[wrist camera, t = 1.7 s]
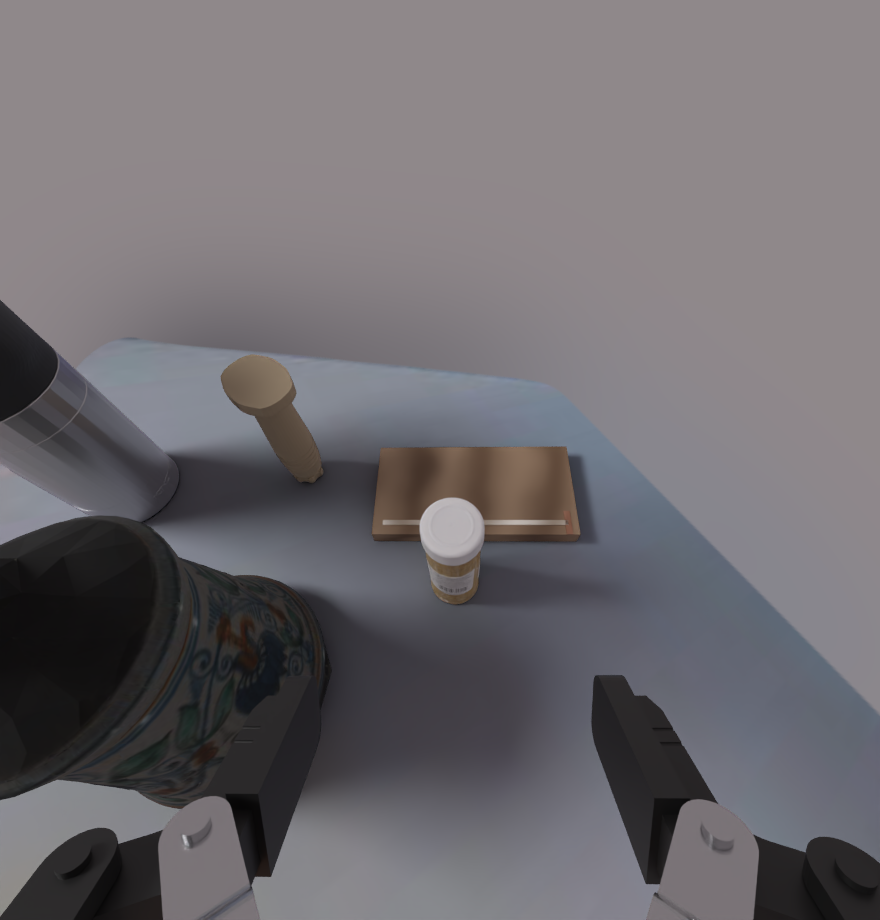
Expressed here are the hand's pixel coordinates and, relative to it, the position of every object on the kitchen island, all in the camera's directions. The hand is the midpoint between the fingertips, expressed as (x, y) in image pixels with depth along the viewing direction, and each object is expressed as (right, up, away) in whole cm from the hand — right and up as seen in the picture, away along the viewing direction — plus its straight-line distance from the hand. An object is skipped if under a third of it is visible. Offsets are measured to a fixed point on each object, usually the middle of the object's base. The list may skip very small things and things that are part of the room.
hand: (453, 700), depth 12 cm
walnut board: (+3, +3, +33) cm, 34 cm away
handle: (-15, +5, +36) cm, 39 cm away
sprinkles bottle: (+1, -5, +29) cm, 29 cm away
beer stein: (-19, -13, +25) cm, 34 cm away
